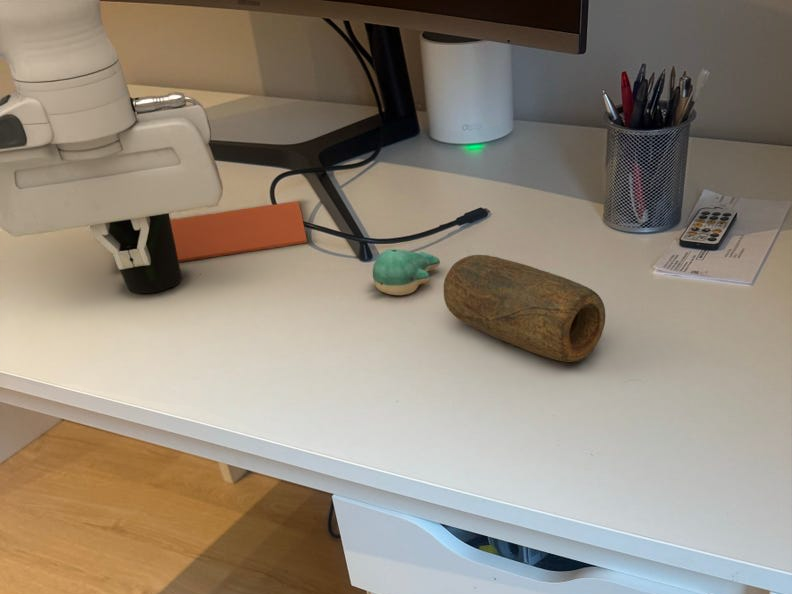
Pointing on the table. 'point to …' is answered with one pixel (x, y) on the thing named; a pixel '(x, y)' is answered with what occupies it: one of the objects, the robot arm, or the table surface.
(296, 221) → the flat orange rectangular block
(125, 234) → the cup
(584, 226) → the table surface
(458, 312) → the wooden vase
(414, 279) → the whale figurine
